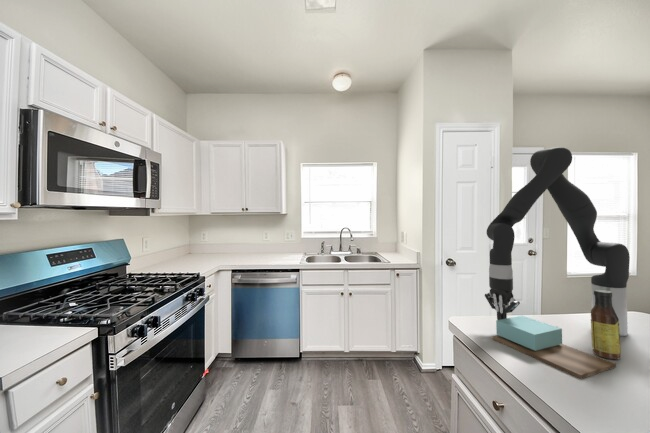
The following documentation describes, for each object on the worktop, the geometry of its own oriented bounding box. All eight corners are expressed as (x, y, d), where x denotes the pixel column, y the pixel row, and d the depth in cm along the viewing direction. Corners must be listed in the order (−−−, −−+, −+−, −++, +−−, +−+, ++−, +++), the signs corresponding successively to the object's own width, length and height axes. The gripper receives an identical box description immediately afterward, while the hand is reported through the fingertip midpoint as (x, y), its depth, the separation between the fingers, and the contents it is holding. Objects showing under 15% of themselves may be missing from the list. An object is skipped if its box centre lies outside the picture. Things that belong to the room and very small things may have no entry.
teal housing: (522, 329, 102) (521, 315, 102) (562, 343, 90) (561, 328, 90) (496, 334, 98) (496, 320, 98) (535, 350, 86) (534, 334, 86)
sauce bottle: (627, 361, 81) (625, 294, 82) (602, 359, 83) (600, 293, 83) (609, 351, 88) (607, 289, 88) (586, 349, 89) (584, 288, 89)
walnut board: (523, 332, 103) (523, 328, 103) (615, 367, 79) (615, 362, 79) (492, 339, 98) (492, 335, 98) (580, 378, 73) (580, 373, 73)
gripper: (525, 278, 98) (526, 327, 98) (492, 272, 111) (493, 315, 110) (510, 280, 96) (511, 330, 95) (478, 273, 108) (479, 317, 108)
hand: (501, 322), depth 103 cm, fingers closed
